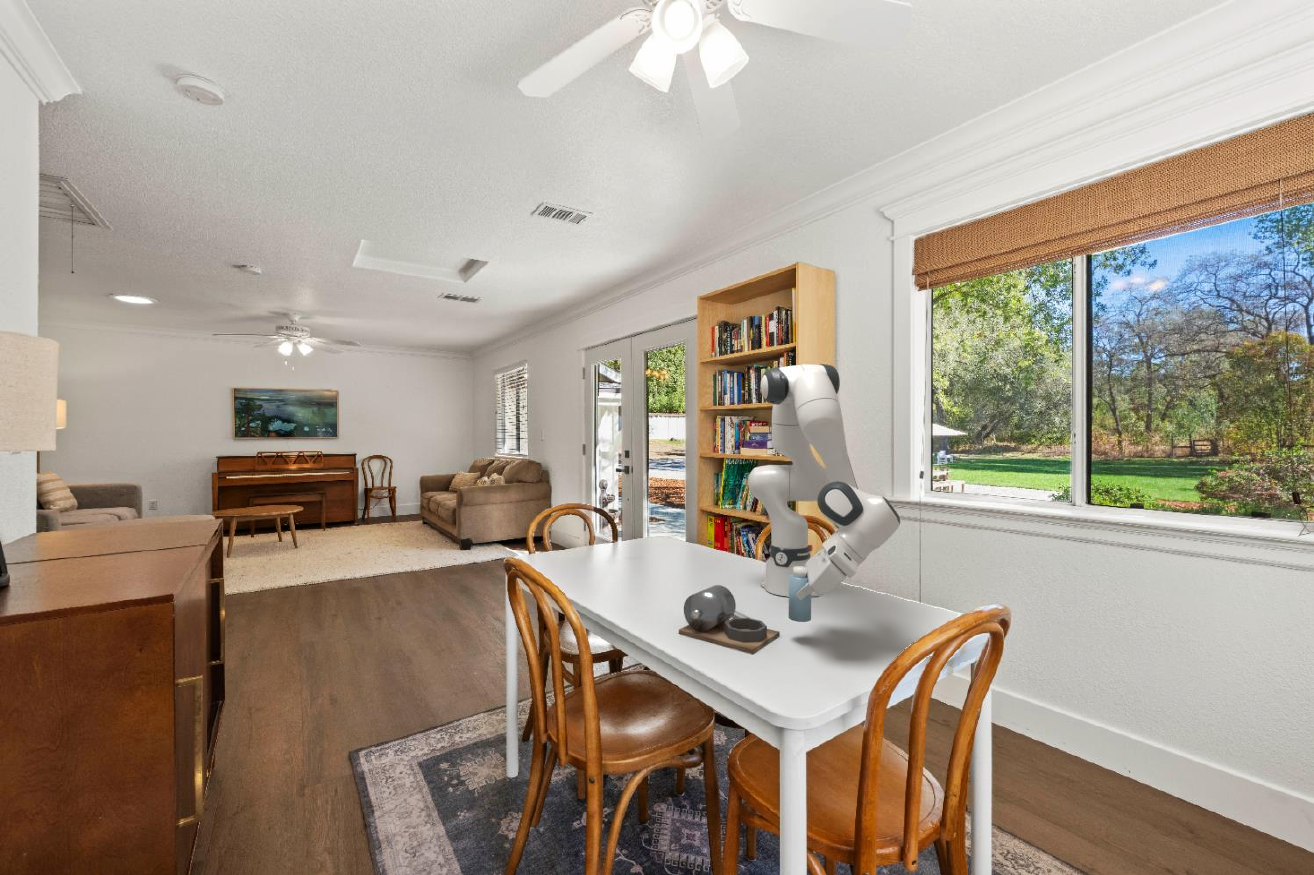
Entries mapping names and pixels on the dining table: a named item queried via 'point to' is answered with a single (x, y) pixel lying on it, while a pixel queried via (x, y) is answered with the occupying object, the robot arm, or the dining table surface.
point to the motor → (709, 608)
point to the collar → (752, 635)
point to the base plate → (721, 638)
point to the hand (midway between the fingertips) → (797, 592)
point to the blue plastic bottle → (797, 608)
